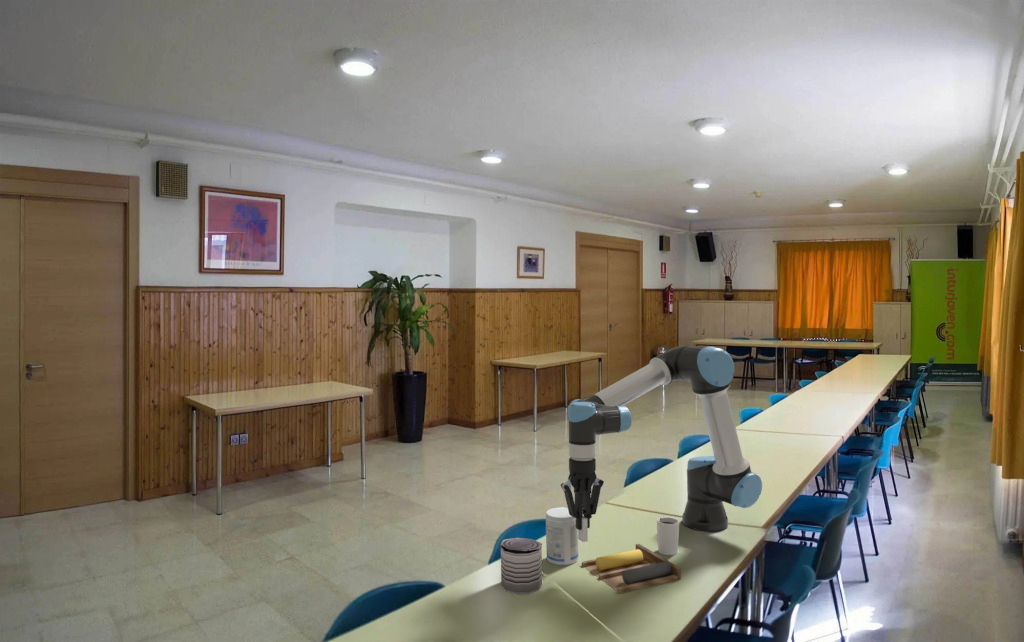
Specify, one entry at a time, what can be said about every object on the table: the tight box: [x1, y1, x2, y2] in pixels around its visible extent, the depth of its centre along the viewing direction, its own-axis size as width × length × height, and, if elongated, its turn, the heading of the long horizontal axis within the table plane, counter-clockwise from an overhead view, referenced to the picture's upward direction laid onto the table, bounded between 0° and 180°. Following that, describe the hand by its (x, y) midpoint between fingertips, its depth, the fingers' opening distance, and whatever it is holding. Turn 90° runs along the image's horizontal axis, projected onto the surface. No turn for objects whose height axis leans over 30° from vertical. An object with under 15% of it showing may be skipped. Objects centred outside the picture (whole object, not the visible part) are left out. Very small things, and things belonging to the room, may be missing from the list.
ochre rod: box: [595, 549, 643, 571], centre depth 189 cm, size 14×4×4 cm
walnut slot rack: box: [581, 543, 682, 594], centre depth 185 cm, size 20×20×3 cm
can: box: [499, 537, 543, 595], centre depth 178 cm, size 11×11×12 cm
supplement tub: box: [545, 506, 579, 566], centre depth 195 cm, size 10×10×15 cm
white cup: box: [656, 516, 680, 556], centre depth 199 cm, size 7×7×10 cm
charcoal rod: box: [622, 561, 672, 585], centre depth 180 cm, size 14×4×4 cm, turn 114°
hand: (582, 539), depth 184 cm, fingers closed
